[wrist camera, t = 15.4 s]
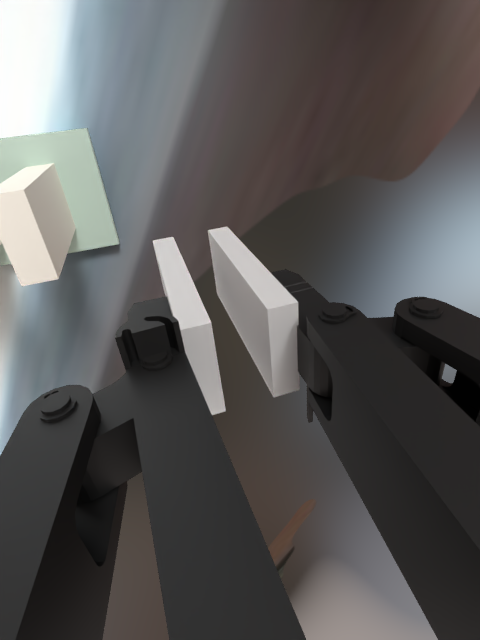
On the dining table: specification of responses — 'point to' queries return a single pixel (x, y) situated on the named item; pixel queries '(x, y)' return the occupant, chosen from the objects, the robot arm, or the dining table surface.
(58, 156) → the board
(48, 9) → the dining table surface
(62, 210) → the domino
